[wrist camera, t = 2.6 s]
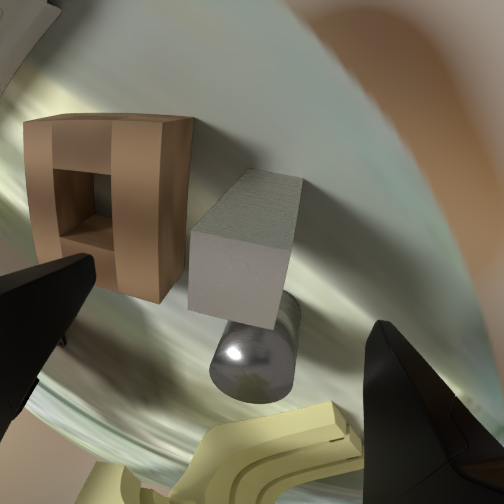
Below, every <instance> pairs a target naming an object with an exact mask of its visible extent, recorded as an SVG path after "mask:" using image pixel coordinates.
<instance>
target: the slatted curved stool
mask: <svg viewBox="0 0 504 504" xmlns="http://www.w3.org/2000/svg"><path fill="white" fill-rule="evenodd" d="M360 469H364V444H362V442H361V439H360V438H359V437H358V435H357V434H356V433H355V431H354V430H353V429H352V427H351V426H350V425H348V426H346V420H345V418H344V417H343V416H342V414H341V413H340V412H339V410H338V409H337V408H336V406H335V405H334V404H333V402H332V401H328V402H324V403H321V404H317V405H313V406H309V407H305V408H301V409H297V410H293V411H289V412H284V413H280V414H275V415H270V416H265V417H260V418H255V419H250V420H244V421H238V422H232V423H226V424H220V425H216V426H214V427H213V428H211V429H210V430H209V431H208V432H207V433H206V434H205V436H204V437H203V439H202V440H201V442H200V444H199V445H198V447H197V449H196V451H195V454H194V456H193V458H192V460H191V463H190V465H189V467H188V468H187V470H186V471H185V473H184V474H183V476H182V477H181V479H180V480H179V481H178V482H177V484H176V485H175V486H174V487H173V488H172V489H171V490H170V492H169V495H168V497H164V496H163V495H161V494H159V493H157V492H156V491H155V490H153V489H147V488H141V481H140V480H139V479H137V478H136V477H135V476H134V475H133V474H132V473H131V472H130V471H129V469H128V468H127V467H126V466H125V465H118V464H110V463H103V462H96V463H95V465H94V467H93V469H92V471H91V473H90V475H89V476H88V478H87V480H86V482H85V484H84V486H83V488H82V490H81V491H80V493H79V495H78V497H77V500H76V502H75V504H274V503H275V501H276V499H277V498H278V496H279V495H280V494H281V493H283V492H284V491H286V490H288V489H290V488H292V487H294V486H297V485H300V484H303V483H306V482H310V481H314V480H317V479H322V478H326V477H330V476H334V475H339V474H343V473H347V472H352V471H356V470H360Z"/></svg>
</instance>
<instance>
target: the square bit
mask: <svg viewBox="0 0 504 504" xmlns="http://www.w3.org/2000/svg"><path fill="white" fill-rule="evenodd" d="M302 183H303V178H299V177H294V176H288V175H283V174H278V173H273V172H267V171H262V170H256V169H249V170H248V171H247V172H246V173H245V174H244V175H243V176H242V177H241V178H240V179H239V180H238V181H237V182H236V183H235V184H234V185H233V186H232V187H231V188H230V189H229V190H228V191H227V192H226V193H225V194H224V195H223V196H222V197H221V198H220V200H219V201H218V202H217V203H216V204H215V205H214V206H213V207H212V208H211V209H210V210H209V211H208V212H207V213H206V214H205V215H204V217H203V218H202V219H201V220H200V221H199V222H198V223H197V224H196V225H195V226H194V227H193V228H192V230H191V233H190V254H189V280H188V310H191V311H194V312H198V313H202V314H206V315H210V316H214V317H218V318H222V319H227V320H231V321H235V322H239V323H244V324H248V325H252V326H257V327H261V328H266V329H270V330H274V325H275V321H276V317H277V313H278V308H279V304H280V300H281V295H282V291H283V287H284V282H285V278H286V273H287V269H288V264H289V260H290V255H291V250H292V245H293V239H294V233H295V227H296V221H297V215H298V209H299V202H300V196H301V190H302Z"/></svg>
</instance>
